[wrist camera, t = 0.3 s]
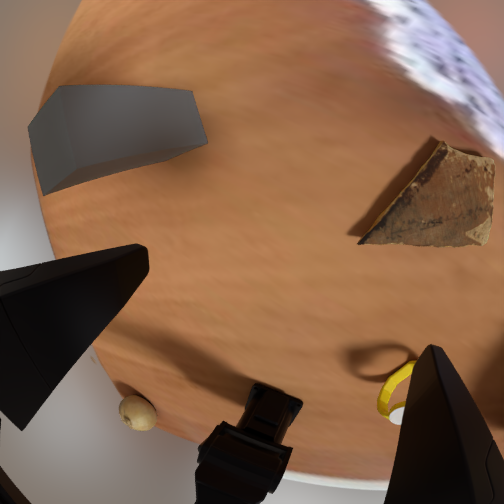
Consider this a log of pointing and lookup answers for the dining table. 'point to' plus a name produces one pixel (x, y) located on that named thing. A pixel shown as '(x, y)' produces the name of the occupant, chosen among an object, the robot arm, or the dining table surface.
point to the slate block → (110, 131)
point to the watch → (388, 388)
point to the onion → (137, 413)
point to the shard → (440, 204)
